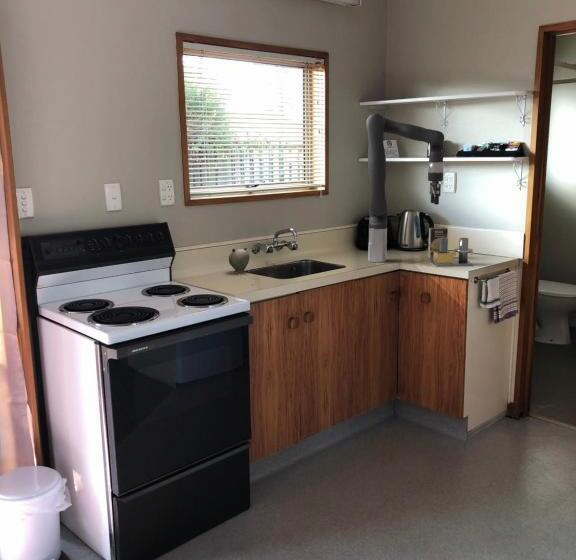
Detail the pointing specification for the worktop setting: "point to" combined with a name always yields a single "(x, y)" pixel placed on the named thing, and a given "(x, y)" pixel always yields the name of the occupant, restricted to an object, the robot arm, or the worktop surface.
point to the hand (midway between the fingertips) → (434, 203)
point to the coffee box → (435, 240)
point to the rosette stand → (447, 258)
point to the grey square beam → (443, 245)
